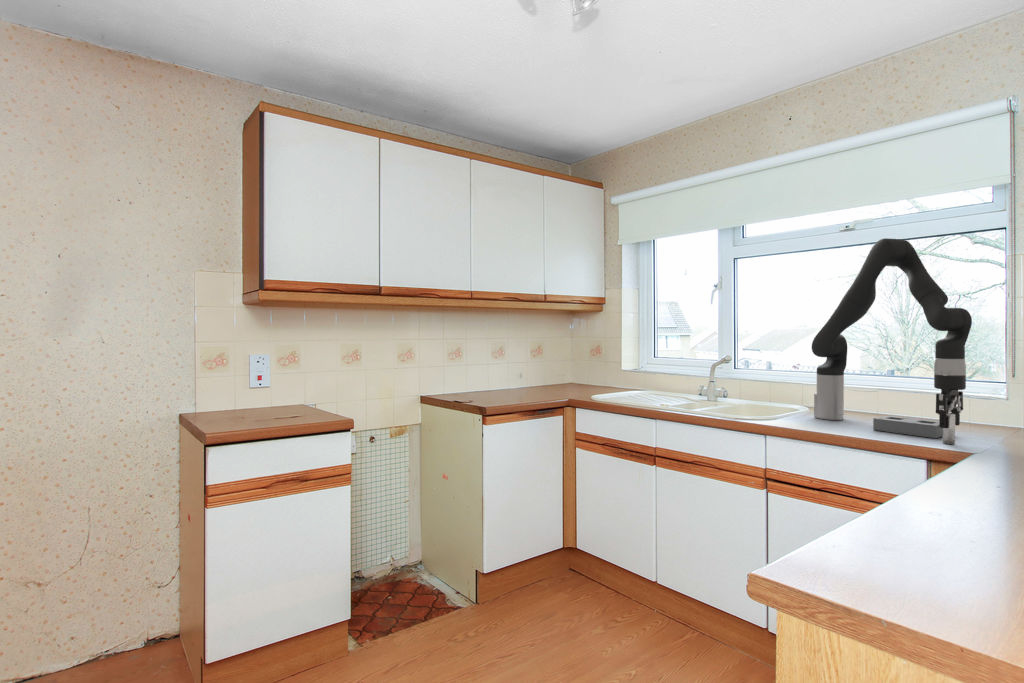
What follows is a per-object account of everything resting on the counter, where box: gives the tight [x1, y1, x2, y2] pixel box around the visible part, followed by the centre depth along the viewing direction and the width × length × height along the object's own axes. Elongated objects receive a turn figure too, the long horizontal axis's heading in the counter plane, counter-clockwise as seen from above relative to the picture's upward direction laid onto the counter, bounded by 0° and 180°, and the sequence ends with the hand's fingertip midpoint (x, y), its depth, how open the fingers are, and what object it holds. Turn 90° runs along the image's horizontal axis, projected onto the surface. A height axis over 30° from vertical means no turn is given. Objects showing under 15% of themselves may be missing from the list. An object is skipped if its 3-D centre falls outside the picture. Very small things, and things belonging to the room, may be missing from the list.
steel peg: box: [941, 412, 956, 445], centre depth 166 cm, size 3×3×9 cm
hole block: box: [872, 414, 943, 439], centre depth 183 cm, size 18×11×4 cm, turn 34°
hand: (949, 426), depth 165 cm, fingers open, 8 cm apart
